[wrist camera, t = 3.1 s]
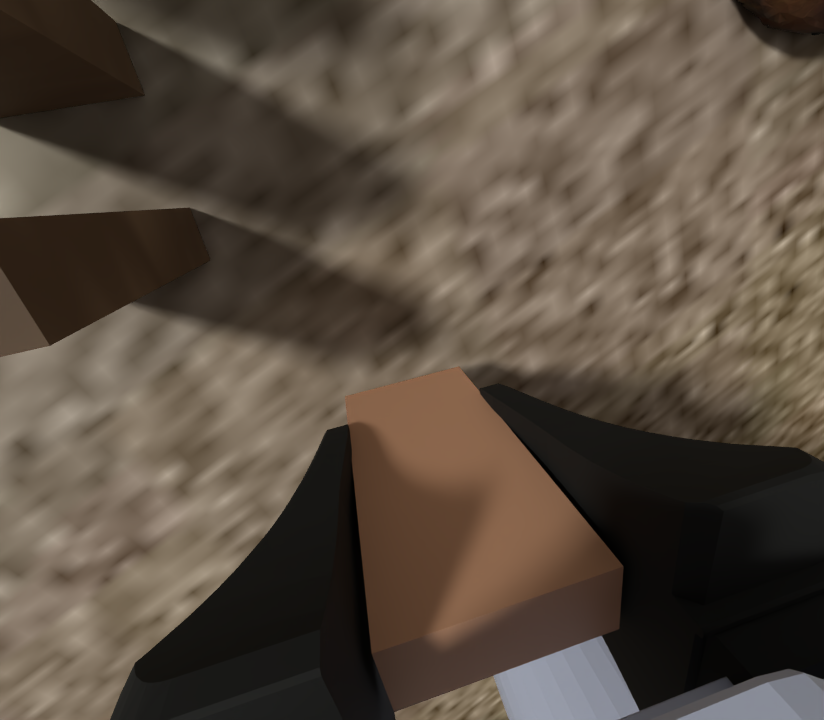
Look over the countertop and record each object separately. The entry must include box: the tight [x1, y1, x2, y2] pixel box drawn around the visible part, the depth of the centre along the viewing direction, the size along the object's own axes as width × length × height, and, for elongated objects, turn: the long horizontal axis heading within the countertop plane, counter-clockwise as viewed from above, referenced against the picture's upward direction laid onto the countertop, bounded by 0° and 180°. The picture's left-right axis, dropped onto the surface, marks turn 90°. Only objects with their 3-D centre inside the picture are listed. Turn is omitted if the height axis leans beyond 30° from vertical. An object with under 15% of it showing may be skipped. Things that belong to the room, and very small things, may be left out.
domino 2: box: [345, 367, 624, 712], centre depth 10 cm, size 2×4×8 cm, turn 101°
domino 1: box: [0, 208, 210, 357], centre depth 8 cm, size 2×4×8 cm, turn 100°
